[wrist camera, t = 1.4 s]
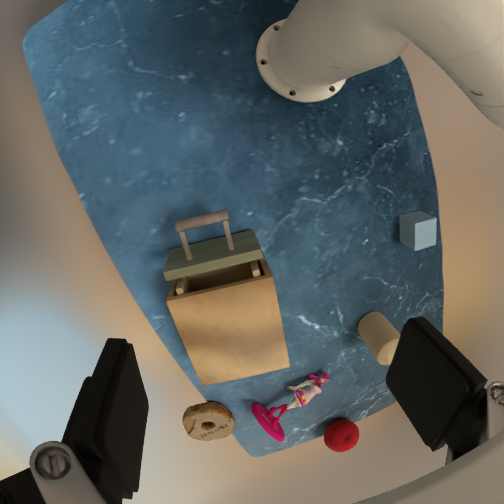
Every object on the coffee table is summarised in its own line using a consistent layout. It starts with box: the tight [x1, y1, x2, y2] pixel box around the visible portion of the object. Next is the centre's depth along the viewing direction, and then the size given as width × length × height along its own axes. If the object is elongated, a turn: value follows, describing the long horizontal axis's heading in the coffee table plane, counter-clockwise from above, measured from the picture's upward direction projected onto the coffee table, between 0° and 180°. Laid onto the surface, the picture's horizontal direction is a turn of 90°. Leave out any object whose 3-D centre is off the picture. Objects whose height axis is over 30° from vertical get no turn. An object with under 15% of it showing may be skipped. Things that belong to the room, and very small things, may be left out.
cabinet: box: [166, 249, 290, 386], centre depth 40 cm, size 15×13×9 cm
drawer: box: [163, 209, 263, 295], centre depth 38 cm, size 18×11×7 cm, turn 12°
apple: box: [324, 419, 359, 452], centre depth 58 cm, size 8×8×10 cm
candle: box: [358, 311, 400, 365], centre depth 45 cm, size 6×6×10 cm
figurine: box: [251, 372, 330, 441], centre depth 50 cm, size 10×10×15 cm
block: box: [399, 211, 436, 251], centre depth 42 cm, size 4×4×4 cm
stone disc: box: [183, 402, 235, 441], centre depth 52 cm, size 10×4×10 cm
